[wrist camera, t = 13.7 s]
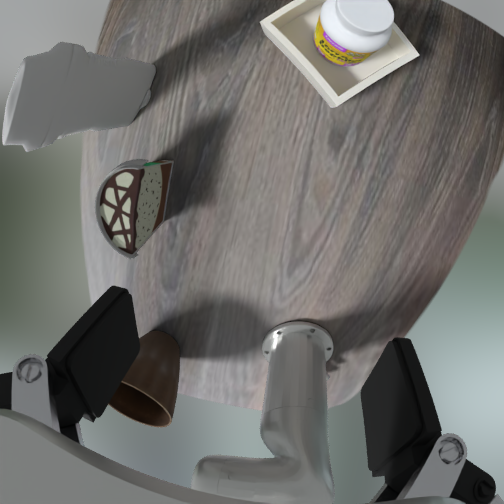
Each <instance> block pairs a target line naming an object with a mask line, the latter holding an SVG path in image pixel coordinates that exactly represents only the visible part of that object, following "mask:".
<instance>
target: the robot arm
mask: <svg viewBox="0 0 504 504" xmlns="http://www.w3.org/2000/svg"><path fill="white" fill-rule="evenodd" d="M139 351H140V342H139V337H138V331H137V326H136V320H135V314H134V307H133V300H132V296H131V294H129V292H128V290H127V289H125V288H121V287H117V286H111V287H110V288H109V289H108V290H107V291H106V292H105V293H104V294H103V295H102V296H101V297H100V298H99V299H98V300H97V301H96V302H95V303H94V304H93V305H92V306H91V307H90V308H89V310H88V311H87V312H86V313H85V314H84V315H83V316H82V317H81V318H80V319H79V320H78V321H77V322H76V323H75V325H74V326H73V327H72V328H71V329H70V330H69V331H68V332H67V333H66V334H65V336H64V337H63V338H62V339H61V340H60V341H59V342H58V344H57V345H56V346H55V347H54V348H53V349H52V350H51V351H50V352H49V354H48V355H47V357H48V358H47V359H46V360H44V359H43V358H42V357H41V356H39V355H36V354H30V355H26V356H24V357H22V358H20V359H19V360H18V361H17V362H16V364H15V366H14V368H13V372H9V373H4V374H0V504H333V502H334V495H335V493H334V492H335V491H334V482H333V476H332V470H331V464H330V456H329V443H328V404H327V380H329V378H330V376H329V374H328V373H327V372H326V362H327V361H328V360H329V359H330V357H331V355H332V353H333V340H332V338H331V336H330V334H329V333H328V332H327V331H326V330H325V329H324V328H322V327H320V326H318V325H316V324H313V323H310V322H303V321H295V322H288V323H284V324H281V325H279V326H277V327H275V328H273V329H272V330H270V331H269V332H268V333H267V335H266V336H265V338H264V340H263V345H262V352H263V355H264V357H265V359H266V360H267V361H268V362H269V367H268V374H267V381H266V388H265V395H264V402H263V409H262V416H261V423H260V434H261V438H262V440H263V442H264V443H265V445H266V446H267V448H268V449H269V450H270V451H271V453H272V454H273V455H274V456H275V458H248V457H238V456H227V455H209V456H206V457H204V458H202V459H201V460H200V461H199V462H198V463H197V465H196V467H195V469H194V472H193V476H192V482H191V489H190V488H186V487H183V486H179V485H176V484H173V483H169V482H167V481H163V480H160V479H158V478H155V477H152V476H149V475H146V474H144V473H141V472H138V471H136V470H133V469H131V468H129V467H126V466H124V465H121V464H119V463H117V462H115V461H113V460H110V459H108V458H106V457H104V456H102V455H100V454H98V453H96V452H94V451H92V450H90V449H88V448H86V447H85V446H84V442H83V438H82V434H81V429H80V425H79V421H80V420H81V418H82V417H84V418H85V419H88V420H90V421H92V422H94V421H95V419H96V417H100V416H101V415H102V414H103V412H104V410H105V409H106V407H107V405H108V403H109V402H110V400H111V398H112V397H113V395H114V393H115V392H116V390H117V388H118V387H119V385H120V383H121V382H122V380H123V378H124V377H125V375H126V373H127V372H128V370H129V369H130V367H131V365H132V364H133V362H134V360H135V359H136V357H137V356H138V354H139ZM361 402H362V409H363V417H364V425H365V435H366V445H367V456H368V468H369V470H371V471H372V476H373V477H377V476H385V483H384V485H383V486H382V488H381V489H380V490H379V491H378V493H377V494H376V495H375V496H374V498H373V499H372V500H371V502H370V503H367V504H504V502H503V500H502V499H501V498H500V496H499V495H498V494H497V495H495V491H496V485H495V481H494V479H493V478H492V477H491V476H490V475H489V474H488V473H486V472H485V471H483V470H482V469H480V468H479V467H477V466H476V465H474V464H473V463H471V462H470V461H468V460H467V459H466V457H467V448H466V445H465V443H464V442H463V440H462V439H461V438H460V437H459V436H458V435H455V434H449V433H447V434H444V435H442V434H441V431H442V430H441V426H440V422H439V419H438V415H437V412H436V409H435V406H434V403H433V399H432V396H431V393H430V390H429V387H428V384H427V382H426V379H425V376H424V373H423V370H422V368H421V365H420V362H419V359H418V357H417V354H416V352H415V349H414V347H413V344H412V342H411V340H410V339H408V338H394V339H393V340H392V341H389V342H388V344H387V346H386V347H385V349H384V351H383V353H382V355H381V356H380V358H379V360H378V362H377V363H376V365H375V367H374V369H373V370H372V372H371V374H370V375H369V377H368V379H367V380H366V382H365V383H364V385H363V387H362V389H361Z"/></svg>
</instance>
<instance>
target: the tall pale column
mask: <svg viewBox="0 0 504 504" xmlns="http://www.w3.org/2000/svg"><path fill="white" fill-rule="evenodd" d="M155 74H156V67H155V65H153V64H149V63H145V62H142V61H138V60H134V59H130V58H123V59H118V60H116V58H112V57H106V56H104V55H103V56H102V55H98V54H96V53H92V52H88V53H87V52H86V50H85V48H84V47H83V46H80V45H78V44H72V43H65V42H60V43H58V44H57V45H56V46H54V47H53V48H52V49H51V50H50V51H49V52H45V53H41V54H37V55H33V56H28V57H26V58H24V60H23V62H22V63H21V65H20V67H19V69H18V71H17V74H16V76H15V79H14V82H13V85H12V88H11V91H10V94H9V96H8V99H7V103H6V108H5V117H4V124H3V136H2V140H3V145H23V147H24V148H25V150H26V152H28V151H31V150H34V149H37V148H41V147H44V146H47V145H50V144H52V143H53V142H54V141H55V140H56V139H57V138H63V137H64V136H65V137H66V136H67V135H70V134H71V135H72V134H76V133H79V132H84V131H88V130H92V131H101V130H106V129H112V128H118V127H125V126H128V125H130V124H131V123H132V122H133V120H134V118H135V117H136V115H137V114H138V112H139V110H140V109H141V108H143V107H144V106H146V105H147V103H148V102H149V100H150V97H151V91H150V88H151V85H152V82H153V79H154V77H155Z"/></svg>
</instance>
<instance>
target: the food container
mask: <svg viewBox="0 0 504 504" xmlns="http://www.w3.org/2000/svg"><path fill="white" fill-rule="evenodd" d="M147 162H148V160H142V159H137V160H130V161H126V162H124V163H122V164H120V165H119V166H117V167H116V168H115V169H113V170H112V171H111V172H110V173H109V174H108V175H107V176H106V177H105V178H104V180H103V182H102V183H101V185H100V187H99V189H98V192H97V195H96V200H95V214H96V220H97V223H98V226H99V228H100V231H101V233H102V235H103V236H104V238H105V239H106V241H107V242H108V243H109V245H110V246H111V247H112V248H113V249H114V250H116V251H117V252H118V253H119V254H121V255H123V256H124V257H126V258H128V259H131V258H132V259H133V258H135V257H136V256H138V254H137V252H138V250H139V249H140V248H141V247H142V246H143V245H144V244H145V242H146V241H147V240H148V239H149V238H150V237H151V236H152V234H153V233H154V232H155V231H156V230H157V229H158V228H159V227H160V226H161V224H162V223H163V222H164V218H165V211H166V205H167V198H168V192H169V186H170V180H171V174H172V169H173V164H174V161H173V160H161V161H155V162H149V163H147Z"/></svg>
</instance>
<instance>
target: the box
mask: <svg viewBox="0 0 504 504" xmlns="http://www.w3.org/2000/svg"><path fill="white" fill-rule="evenodd" d="M325 1H326V0H294V1H292V2H291V3H289V4H287V5H285V6H284V7H282V8H281V9H279V10H277V11H276V12H274V13H273V14H271V15H270V16H268V17H267V18H265V19H264V20H262V21H261V22H260V24H261V26H262V29H263V31H264V34H265V35H266V36H267V37H268V38H269V39H270V40H271V41H272V42H273V43H274V44H275V45H276V46H277V47H278V48H279V49H280V50H281V51H282V52H283V53H284V54H285V55H286V56H287V57H288V58H289V60H290V61H291V62H292V63H293V64H294V65H295V66H296V67H297V68H298V69H299V70H300V72H301V73H302V74H303V75H304V76H305V77H306V78H307V79H308V81H309V82H310V83H311V84H312V85H313V87H314V88H315V89H316V90H317V91H318V93H319V94H320V95H321V96H322V97H323V99H324V100H325V101H326V102H327V104H328V105H329V106H330V107H331V108H333V107H337V106H339V105H340V104H342V103H343V102H345V101H346V100H348V99H349V98H351V97H352V96H354V95H355V94H357V93H358V92H360V91H361V90H363V89H365V88H366V87H368V86H369V85H371V84H372V83H374V82H376V81H377V80H379V79H380V78H382V77H384V76H385V75H387V74H389V73H390V72H392V71H394V70H395V69H397V68H399V67H400V66H402V65H404V64H405V63H407V62H409V61H411V60H412V59H414V58H416V57H418V56H419V54H418V52H417V51H416V49H415V48H414V47H413V45H412V44H411V43H410V41H409V40H408V39H407V38H406V36H405V35H404V34H403V32H402V31H401V30H400V29H399V28H398V26H397V25H396V24H395V23H394V22H393V23H392V34H391V37H390V39H389V41H388V43H387V44H386V45H385V46H384V47H382V48H381V49H379V50H378V51H376V52H375V53H374V54H372V55H371V56H369V57H368V58H366V59H365V60H364V61H362V62H361V63H359V64H357V65H355V66H350V67H342V66H337V65H334V64H331V63H329V62H328V61H326V60H325V59H324V58H322V57H321V56H320V54H319V53H318V52H317V50H316V48H315V45H314V32H315V28H316V25H317V22H318V18H319V15H320V11H321V8H322V6H323V4H324V2H325Z"/></svg>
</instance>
